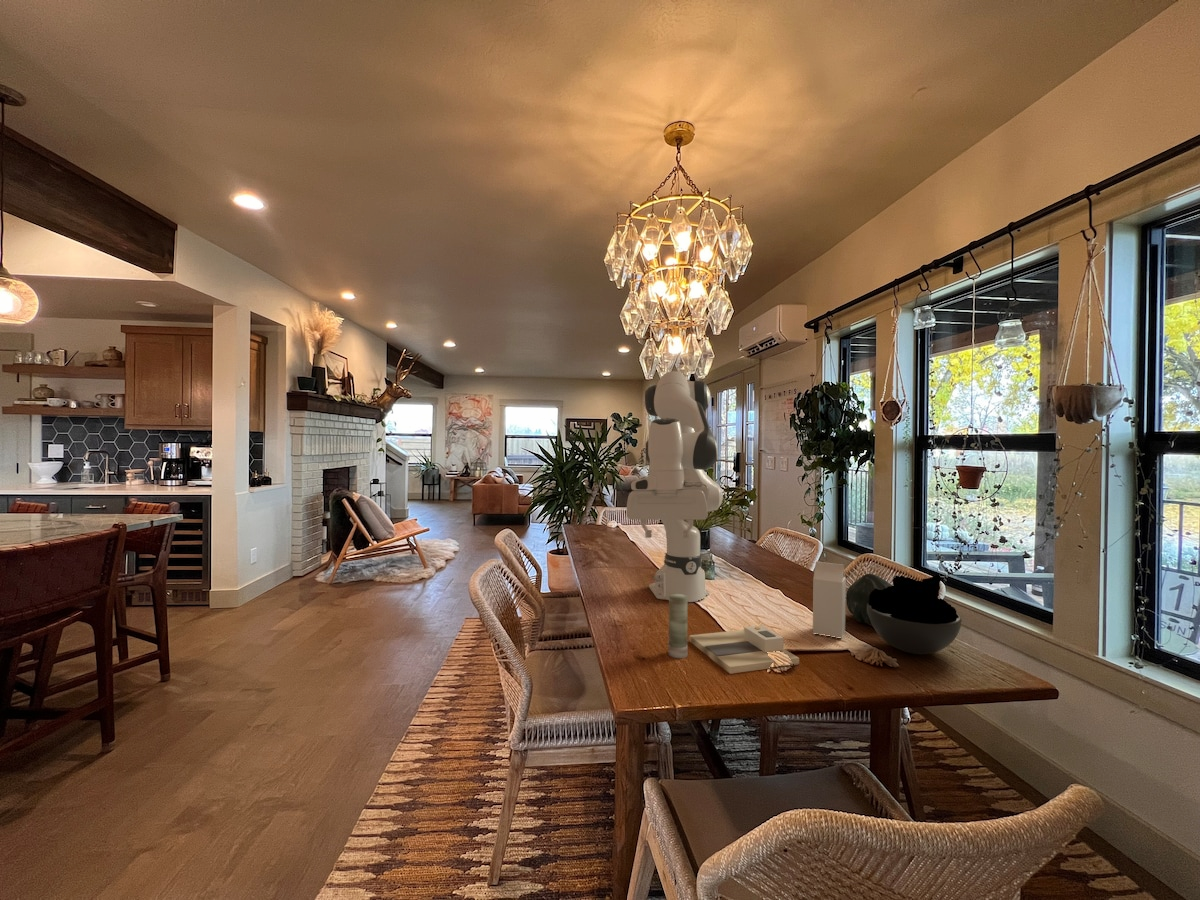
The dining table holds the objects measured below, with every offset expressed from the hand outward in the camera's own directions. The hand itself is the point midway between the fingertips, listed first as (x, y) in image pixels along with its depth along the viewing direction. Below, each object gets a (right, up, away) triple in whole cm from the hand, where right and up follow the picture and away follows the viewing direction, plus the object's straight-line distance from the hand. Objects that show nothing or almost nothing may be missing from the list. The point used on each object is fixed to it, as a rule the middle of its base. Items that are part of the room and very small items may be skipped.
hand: (667, 537), depth 131 cm
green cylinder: (+2, -27, -5) cm, 28 cm away
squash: (+62, -28, +19) cm, 71 cm away
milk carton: (+45, -28, +10) cm, 54 cm away
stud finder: (+23, -26, -3) cm, 35 cm away
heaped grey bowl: (+60, -28, -2) cm, 66 cm away
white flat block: (+18, -27, -3) cm, 33 cm away
